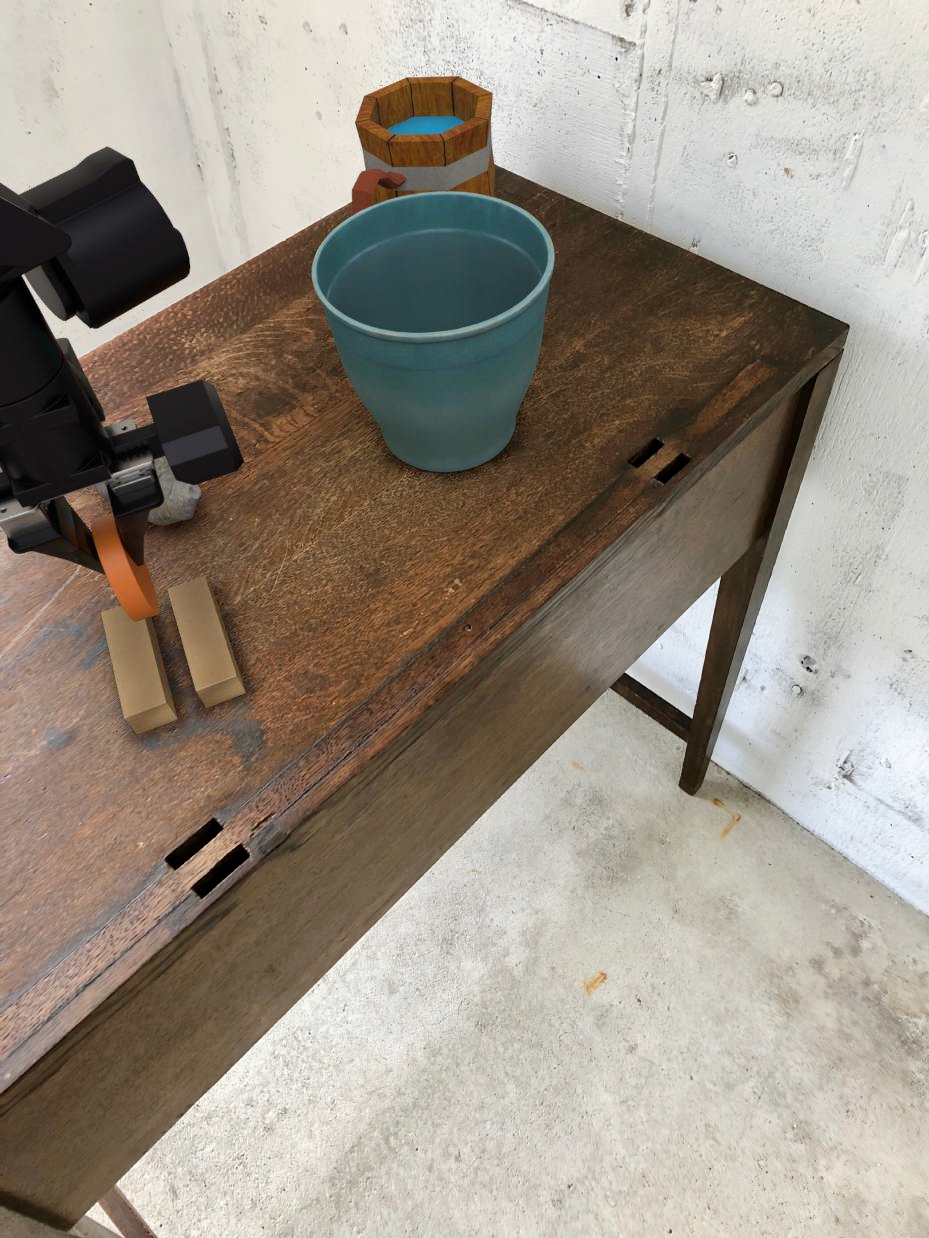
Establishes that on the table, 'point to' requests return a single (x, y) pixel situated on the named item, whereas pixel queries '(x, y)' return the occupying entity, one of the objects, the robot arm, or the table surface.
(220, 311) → the table surface
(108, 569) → the disc
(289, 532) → the table surface
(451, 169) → the mug
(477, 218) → the flower pot
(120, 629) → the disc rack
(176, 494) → the grey sweet potato
